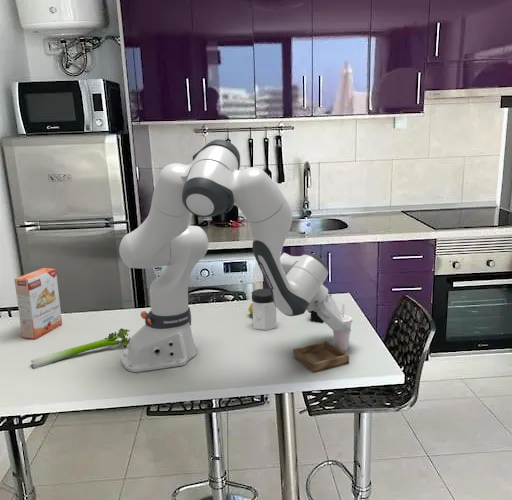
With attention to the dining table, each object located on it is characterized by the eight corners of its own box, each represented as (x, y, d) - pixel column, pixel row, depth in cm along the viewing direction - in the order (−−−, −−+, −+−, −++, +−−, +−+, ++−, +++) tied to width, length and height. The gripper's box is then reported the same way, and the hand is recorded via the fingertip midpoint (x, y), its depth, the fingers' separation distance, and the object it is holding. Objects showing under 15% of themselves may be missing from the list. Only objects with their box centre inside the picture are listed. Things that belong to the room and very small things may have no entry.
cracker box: (36, 340, 177) (27, 279, 172) (21, 338, 179) (12, 278, 174) (63, 324, 190) (56, 268, 185) (50, 323, 191) (42, 267, 186)
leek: (32, 368, 161) (129, 338, 174) (36, 380, 155) (136, 348, 168) (28, 351, 158) (127, 322, 172) (32, 362, 153) (133, 332, 166)
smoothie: (355, 350, 159) (356, 306, 156) (336, 353, 158) (336, 309, 154) (346, 342, 165) (346, 299, 162) (327, 345, 164) (327, 302, 160)
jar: (247, 328, 180) (245, 294, 177) (259, 319, 187) (257, 287, 184) (270, 332, 176) (269, 297, 173) (282, 323, 182) (281, 290, 180)
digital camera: (317, 311, 193) (316, 292, 191) (331, 313, 191) (331, 294, 189) (307, 321, 184) (307, 302, 182) (322, 323, 182) (322, 303, 180)
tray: (313, 372, 146) (313, 364, 146) (293, 357, 157) (292, 349, 156) (348, 363, 151) (348, 355, 150) (326, 348, 161) (326, 341, 161)
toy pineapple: (247, 319, 188) (246, 304, 186) (251, 309, 197) (250, 295, 196) (266, 319, 187) (266, 305, 186) (269, 309, 196) (269, 295, 195)
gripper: (325, 300, 147) (361, 332, 149) (317, 279, 167) (348, 307, 169) (309, 316, 148) (345, 348, 150) (303, 293, 168) (334, 321, 170)
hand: (346, 326), depth 160 cm, fingers closed on smoothie, 6 cm apart
